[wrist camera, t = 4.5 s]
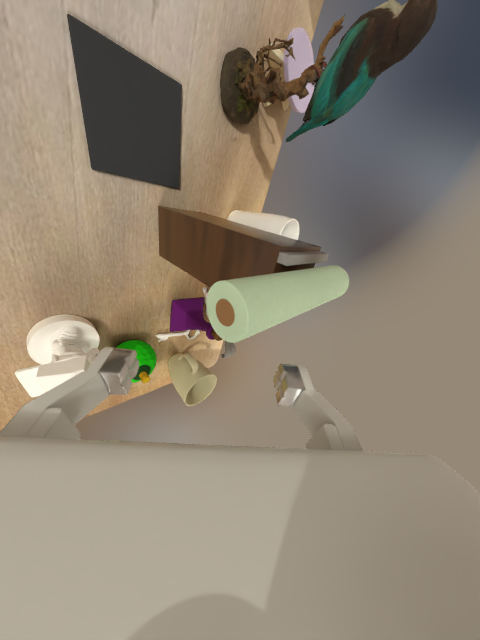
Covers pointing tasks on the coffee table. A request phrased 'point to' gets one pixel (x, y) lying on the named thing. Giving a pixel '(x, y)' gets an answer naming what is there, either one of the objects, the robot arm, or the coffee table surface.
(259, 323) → the paper roll
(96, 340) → the character figurine
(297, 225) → the drinking glass
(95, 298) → the coffee table surface
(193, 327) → the perfume bottle
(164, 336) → the key
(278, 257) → the stand
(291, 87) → the sculpture
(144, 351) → the ornament
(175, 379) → the mug
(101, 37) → the mat
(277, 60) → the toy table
